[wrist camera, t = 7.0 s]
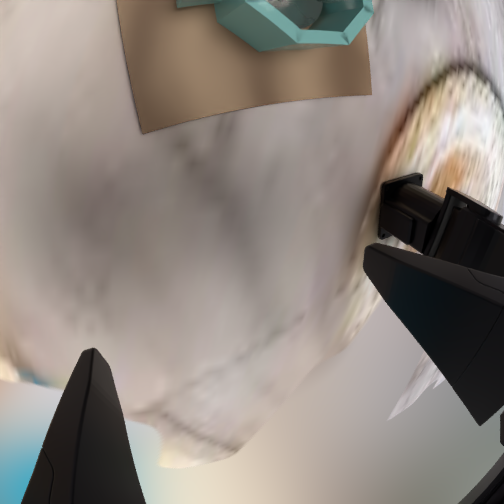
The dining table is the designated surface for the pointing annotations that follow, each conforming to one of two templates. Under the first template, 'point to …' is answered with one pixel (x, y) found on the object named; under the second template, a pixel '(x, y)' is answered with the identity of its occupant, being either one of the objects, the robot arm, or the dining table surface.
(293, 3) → the plunger
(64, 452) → the robot arm
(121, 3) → the board
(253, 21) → the teal handled cup
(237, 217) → the dining table surface
